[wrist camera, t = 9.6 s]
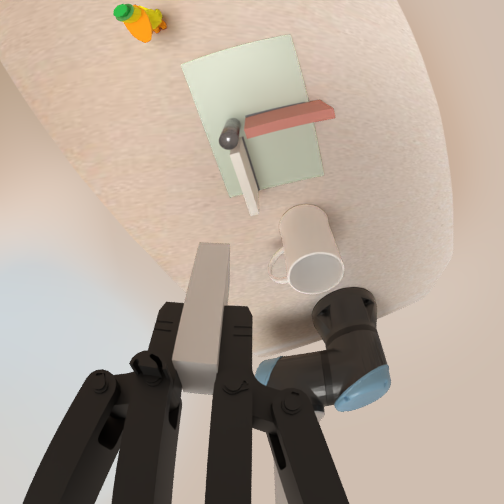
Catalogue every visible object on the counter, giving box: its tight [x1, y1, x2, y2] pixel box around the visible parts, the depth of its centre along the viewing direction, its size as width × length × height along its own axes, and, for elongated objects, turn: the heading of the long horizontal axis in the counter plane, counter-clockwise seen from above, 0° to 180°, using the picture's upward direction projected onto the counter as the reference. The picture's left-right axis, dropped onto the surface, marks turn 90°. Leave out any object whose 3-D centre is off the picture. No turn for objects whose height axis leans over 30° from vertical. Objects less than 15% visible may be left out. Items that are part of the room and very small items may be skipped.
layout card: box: [181, 34, 324, 198], centre depth 35 cm, size 22×15×1 cm
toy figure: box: [114, 4, 167, 43], centre depth 21 cm, size 7×4×12 cm, turn 23°
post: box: [219, 118, 241, 150], centre depth 32 cm, size 2×2×8 cm
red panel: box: [244, 100, 335, 139], centre depth 31 cm, size 10×1×7 cm, turn 107°
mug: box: [268, 204, 344, 294], centre depth 43 cm, size 12×8×12 cm
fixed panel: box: [230, 137, 259, 216], centre depth 37 cm, size 9×1×7 cm, turn 16°
